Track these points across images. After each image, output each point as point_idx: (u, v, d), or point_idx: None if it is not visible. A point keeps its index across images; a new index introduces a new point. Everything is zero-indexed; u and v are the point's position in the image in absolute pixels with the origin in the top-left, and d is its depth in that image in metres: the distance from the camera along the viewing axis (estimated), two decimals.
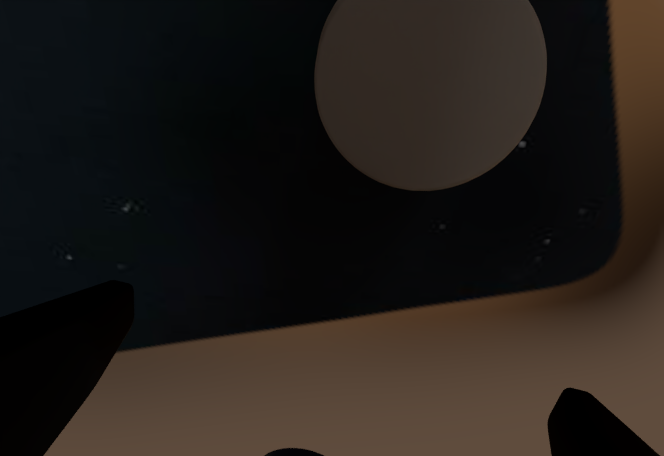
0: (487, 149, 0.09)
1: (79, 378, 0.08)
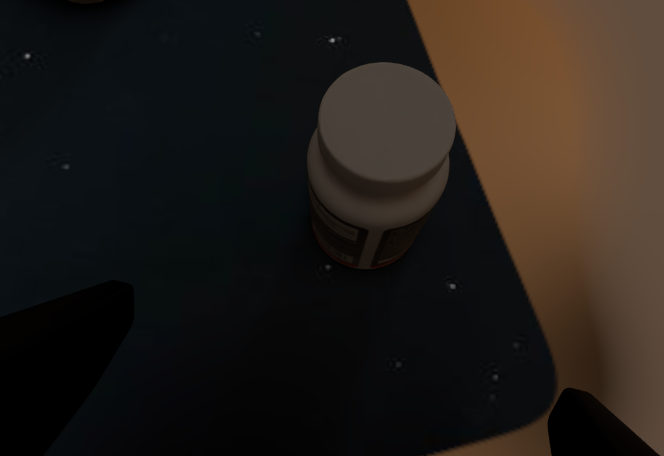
0: (430, 154, 0.15)
1: (79, 378, 0.08)
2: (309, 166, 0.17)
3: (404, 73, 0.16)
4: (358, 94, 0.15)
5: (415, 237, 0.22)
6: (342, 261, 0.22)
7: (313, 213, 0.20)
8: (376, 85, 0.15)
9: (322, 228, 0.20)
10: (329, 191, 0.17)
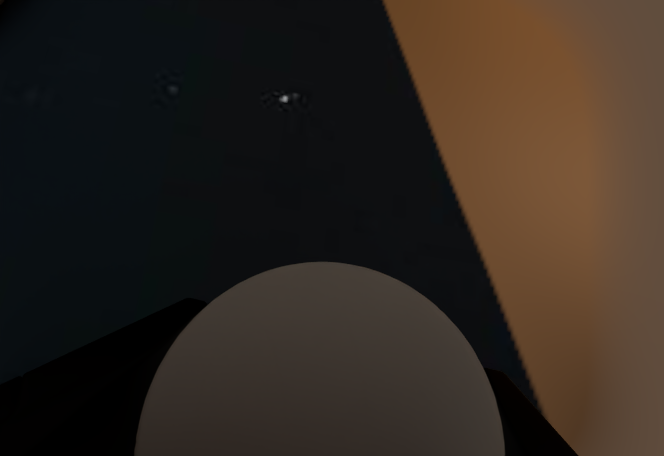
0: None
1: None
2: None
3: (370, 295, 0.06)
4: (248, 363, 0.06)
5: None
6: None
7: None
8: (297, 333, 0.06)
9: None
10: None
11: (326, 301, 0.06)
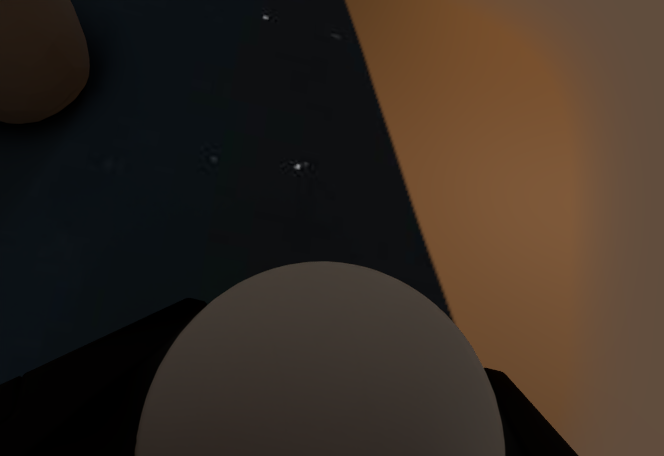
0: None
1: None
2: None
3: (370, 295, 0.06)
4: (248, 363, 0.06)
5: None
6: None
7: None
8: (297, 333, 0.06)
9: None
10: None
11: (326, 300, 0.06)
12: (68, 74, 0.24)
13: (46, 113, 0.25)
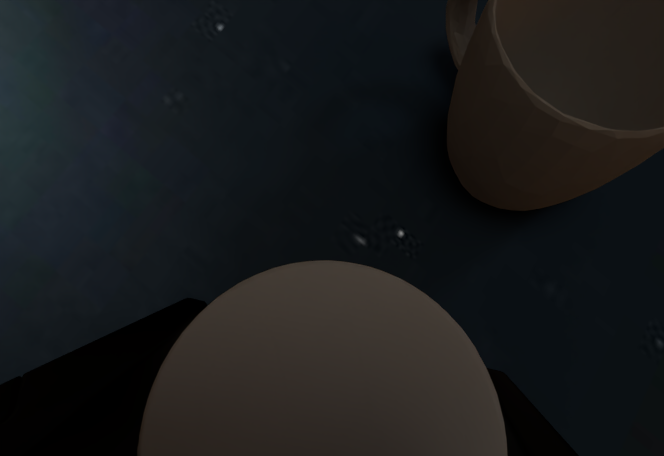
0: None
1: None
2: None
3: (373, 294, 0.06)
4: (251, 361, 0.06)
5: None
6: None
7: None
8: (300, 332, 0.06)
9: None
10: None
11: (328, 299, 0.06)
12: None
13: (518, 209, 0.24)
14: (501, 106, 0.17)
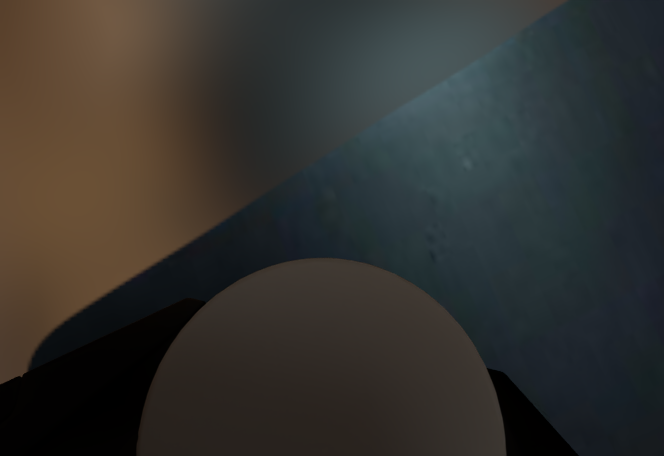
0: None
1: None
2: None
3: (371, 291, 0.06)
4: (250, 358, 0.06)
5: None
6: None
7: None
8: (299, 329, 0.06)
9: None
10: None
11: (327, 297, 0.06)
12: None
13: None
14: None
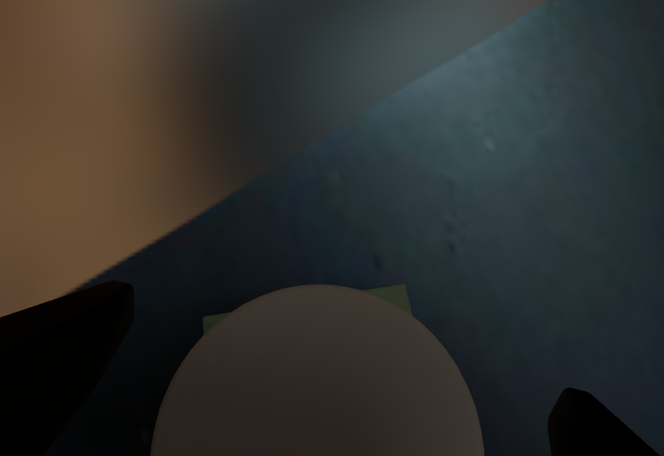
0: None
1: (79, 378, 0.08)
2: None
3: (364, 316, 0.07)
4: (252, 378, 0.06)
5: None
6: None
7: None
8: (297, 351, 0.07)
9: None
10: None
11: (323, 321, 0.07)
12: None
13: None
14: None
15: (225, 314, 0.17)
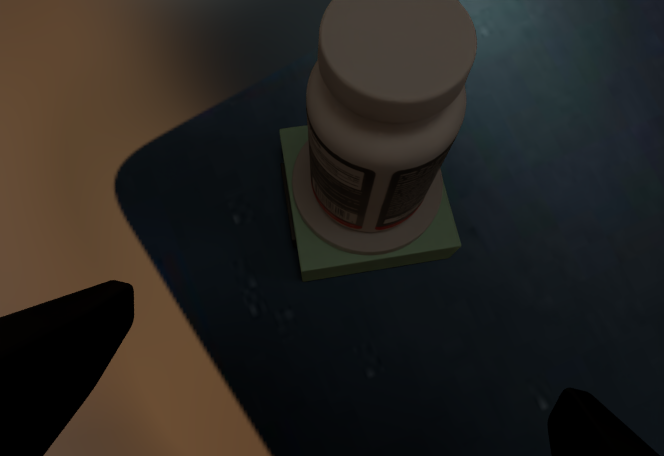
0: (448, 71, 0.13)
1: (79, 378, 0.08)
2: (308, 100, 0.15)
3: None
4: (365, 8, 0.13)
5: (425, 194, 0.20)
6: (345, 222, 0.20)
7: (313, 164, 0.18)
8: None
9: (323, 180, 0.18)
10: (331, 125, 0.15)
11: None
12: None
13: None
14: None
15: (295, 127, 0.24)
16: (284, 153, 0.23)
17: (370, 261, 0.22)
